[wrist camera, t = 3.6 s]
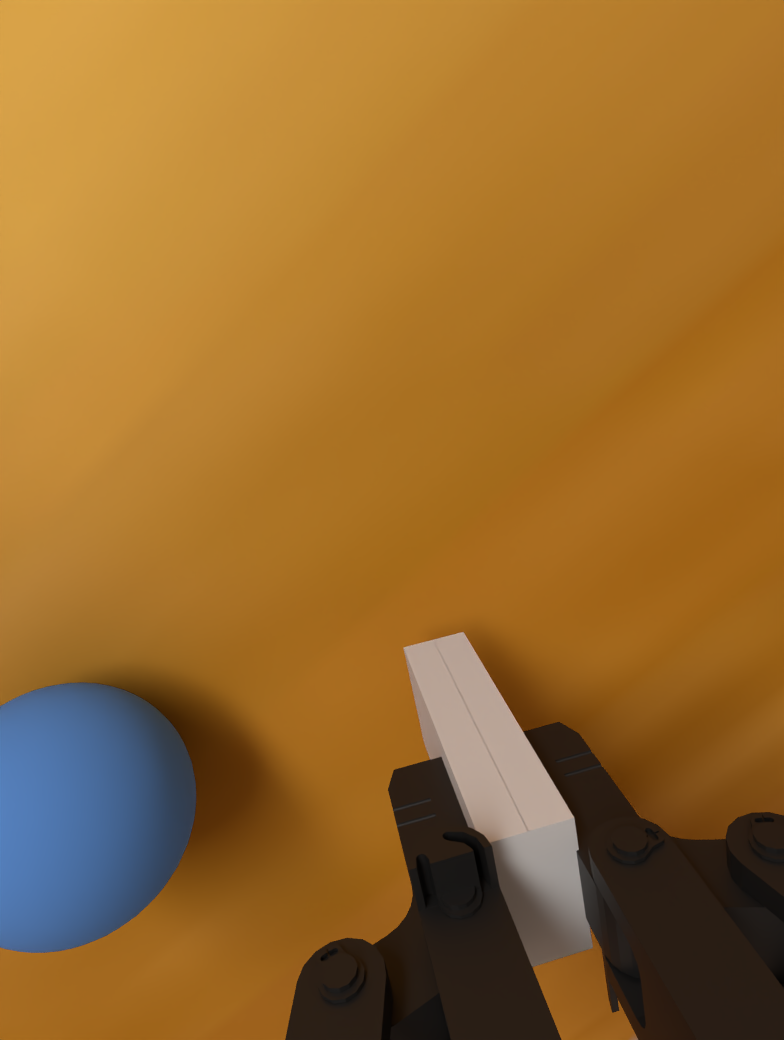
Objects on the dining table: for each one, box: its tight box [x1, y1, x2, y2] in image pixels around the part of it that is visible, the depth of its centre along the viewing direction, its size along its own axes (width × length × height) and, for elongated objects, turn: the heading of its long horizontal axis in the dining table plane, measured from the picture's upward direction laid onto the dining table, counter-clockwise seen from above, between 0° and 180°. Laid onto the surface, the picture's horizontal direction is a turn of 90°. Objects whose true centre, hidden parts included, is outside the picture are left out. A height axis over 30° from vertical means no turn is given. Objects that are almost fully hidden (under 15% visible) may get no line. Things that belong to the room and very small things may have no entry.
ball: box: [0, 683, 196, 953], centre depth 16 cm, size 6×6×6 cm
